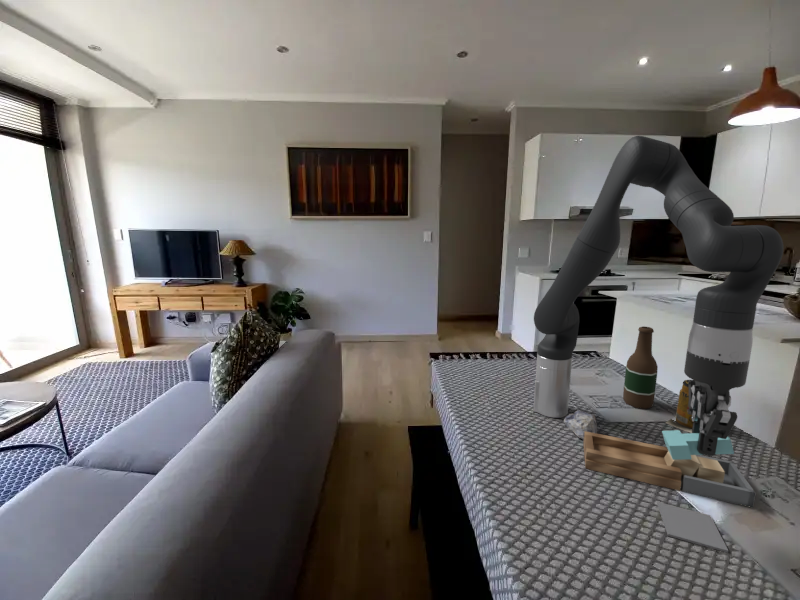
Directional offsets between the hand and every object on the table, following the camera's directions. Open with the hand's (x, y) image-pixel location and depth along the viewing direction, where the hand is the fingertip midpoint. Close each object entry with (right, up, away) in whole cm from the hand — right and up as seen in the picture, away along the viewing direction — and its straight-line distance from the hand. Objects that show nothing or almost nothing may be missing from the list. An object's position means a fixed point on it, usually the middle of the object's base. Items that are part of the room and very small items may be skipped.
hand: (702, 448), depth 59 cm
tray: (+13, -13, +13) cm, 22 cm away
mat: (0, -15, +3) cm, 15 cm away
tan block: (+12, -12, +13) cm, 22 cm away
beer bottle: (+21, -7, +47) cm, 52 cm away
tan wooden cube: (+8, -11, +15) cm, 20 cm away
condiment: (+27, -9, +35) cm, 45 cm away
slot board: (0, -12, +19) cm, 23 cm away
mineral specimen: (-4, -10, +32) cm, 34 cm away
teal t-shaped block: (-4, 0, +2) cm, 5 cm away
